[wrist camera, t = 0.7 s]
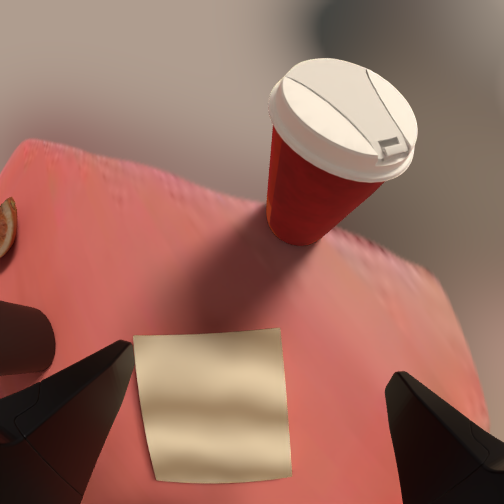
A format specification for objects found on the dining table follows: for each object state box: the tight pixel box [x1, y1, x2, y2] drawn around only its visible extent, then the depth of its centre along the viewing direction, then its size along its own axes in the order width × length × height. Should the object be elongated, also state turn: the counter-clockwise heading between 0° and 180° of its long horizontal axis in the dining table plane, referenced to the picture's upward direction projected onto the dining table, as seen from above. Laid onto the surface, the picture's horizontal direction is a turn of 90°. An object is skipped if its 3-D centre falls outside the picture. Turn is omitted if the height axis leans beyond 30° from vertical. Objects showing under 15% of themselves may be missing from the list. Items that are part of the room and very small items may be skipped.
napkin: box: [133, 328, 292, 483], centre depth 20 cm, size 14×12×2 cm
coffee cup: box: [266, 58, 417, 246], centre depth 18 cm, size 8×8×15 cm
